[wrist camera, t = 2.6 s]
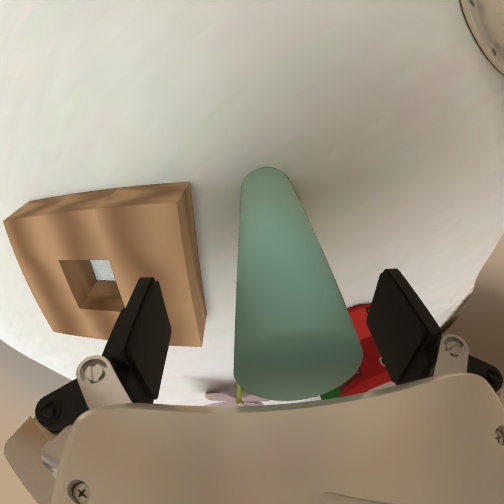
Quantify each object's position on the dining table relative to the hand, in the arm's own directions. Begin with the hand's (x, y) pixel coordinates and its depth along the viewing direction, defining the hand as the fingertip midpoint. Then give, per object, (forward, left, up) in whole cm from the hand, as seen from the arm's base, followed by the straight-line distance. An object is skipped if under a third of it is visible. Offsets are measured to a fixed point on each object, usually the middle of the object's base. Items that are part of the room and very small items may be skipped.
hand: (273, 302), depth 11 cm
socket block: (+14, +6, -12) cm, 20 cm away
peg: (-1, 0, -12) cm, 12 cm away
